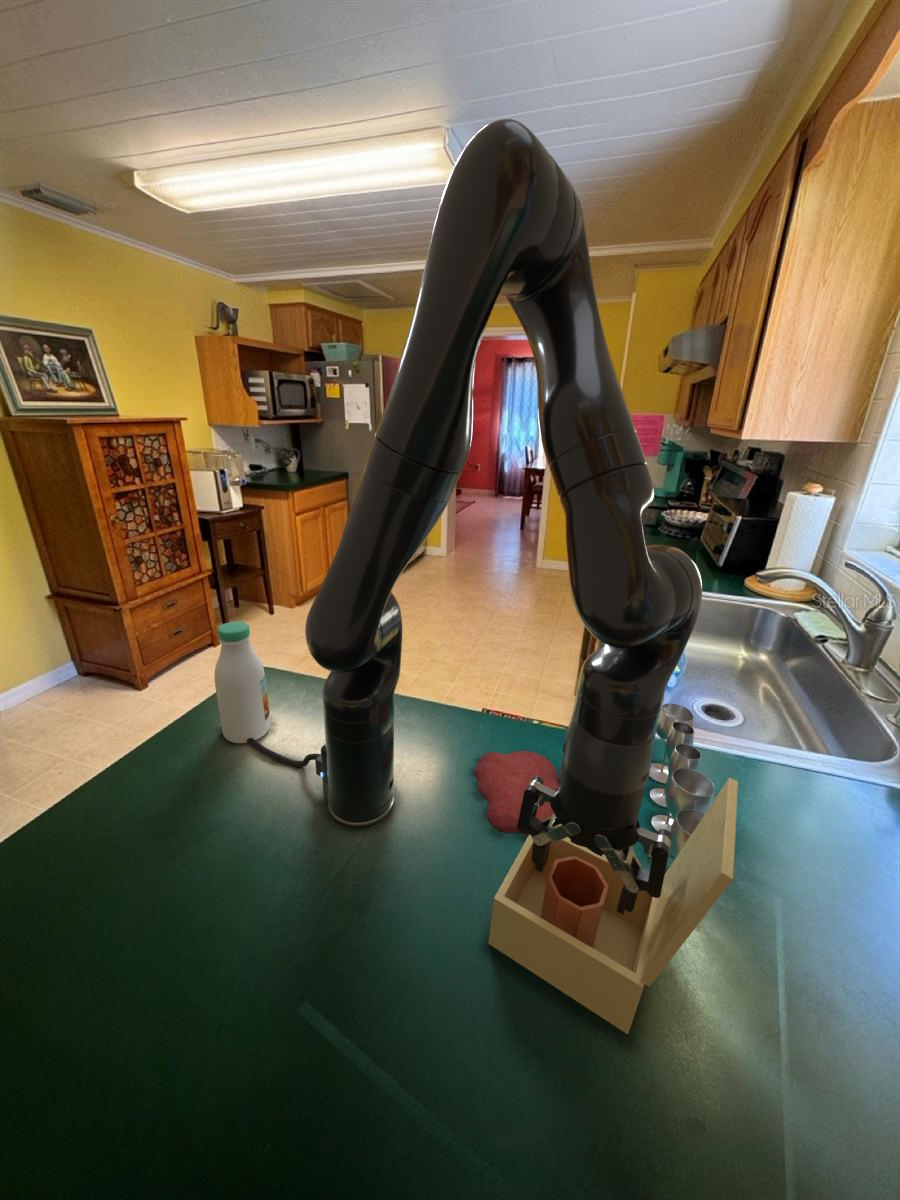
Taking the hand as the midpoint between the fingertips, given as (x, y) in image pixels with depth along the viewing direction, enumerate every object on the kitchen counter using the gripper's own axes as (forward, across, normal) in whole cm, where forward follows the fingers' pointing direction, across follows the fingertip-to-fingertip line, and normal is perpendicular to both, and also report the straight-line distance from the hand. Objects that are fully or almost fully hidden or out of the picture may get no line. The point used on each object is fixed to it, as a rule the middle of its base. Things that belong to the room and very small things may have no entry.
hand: (579, 884), depth 49 cm
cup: (+7, 0, 0) cm, 7 cm away
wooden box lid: (-8, -9, 0) cm, 12 cm away
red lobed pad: (+8, +13, -17) cm, 23 cm away
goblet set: (+8, -7, -23) cm, 25 cm away
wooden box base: (+8, 0, 0) cm, 8 cm away
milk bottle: (+8, +59, -3) cm, 59 cm away
